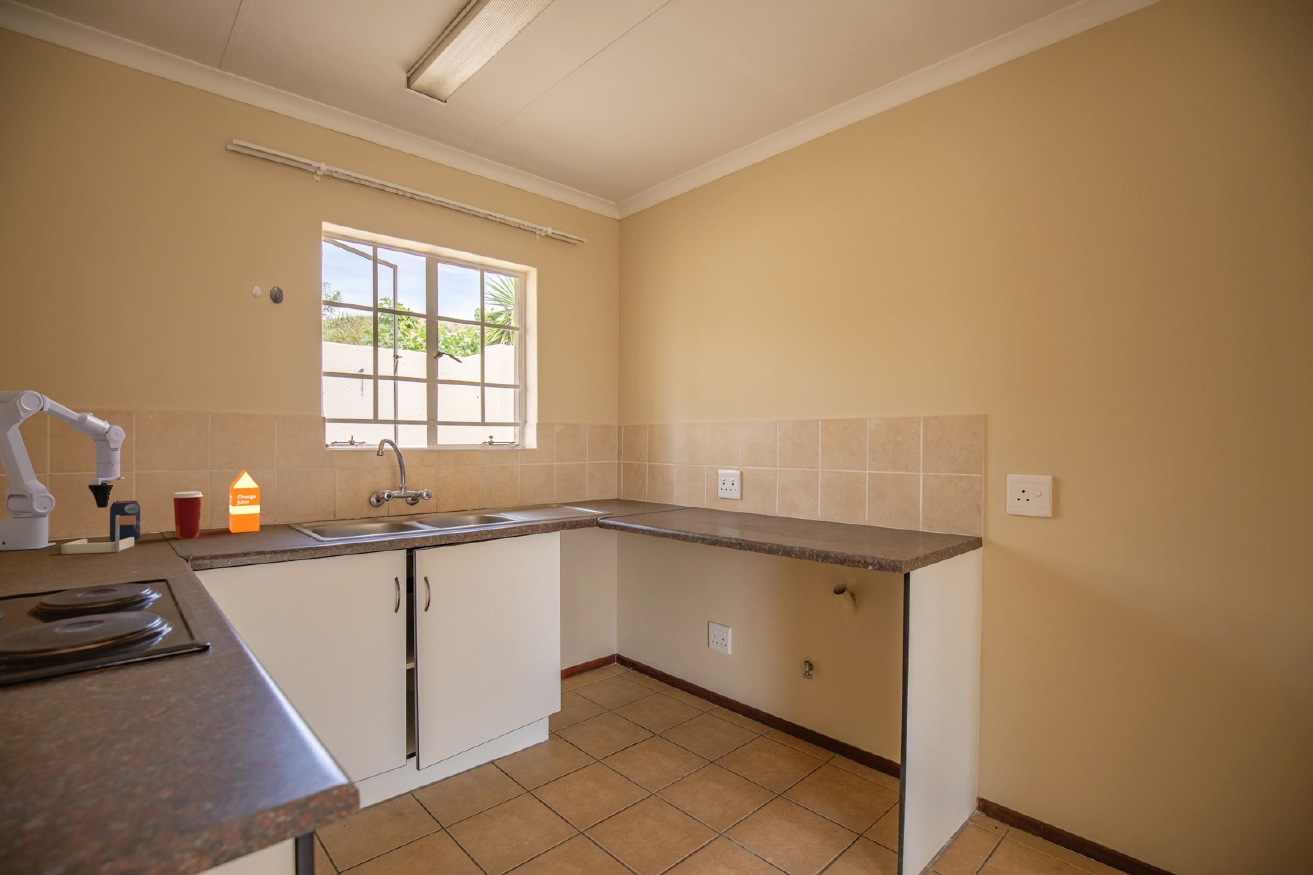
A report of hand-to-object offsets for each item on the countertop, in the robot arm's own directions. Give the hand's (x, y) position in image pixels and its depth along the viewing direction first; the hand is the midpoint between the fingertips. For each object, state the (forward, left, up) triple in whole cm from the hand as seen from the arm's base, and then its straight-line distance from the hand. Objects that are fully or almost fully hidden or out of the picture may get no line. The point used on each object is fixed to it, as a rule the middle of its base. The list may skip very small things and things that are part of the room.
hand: (107, 506), depth 196 cm
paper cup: (+24, -8, -10) cm, 27 cm away
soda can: (+10, -13, -10) cm, 19 cm away
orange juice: (+36, +4, -10) cm, 37 cm away
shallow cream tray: (+12, -28, -9) cm, 32 cm away
